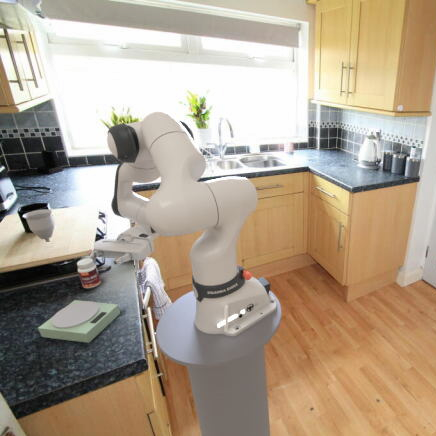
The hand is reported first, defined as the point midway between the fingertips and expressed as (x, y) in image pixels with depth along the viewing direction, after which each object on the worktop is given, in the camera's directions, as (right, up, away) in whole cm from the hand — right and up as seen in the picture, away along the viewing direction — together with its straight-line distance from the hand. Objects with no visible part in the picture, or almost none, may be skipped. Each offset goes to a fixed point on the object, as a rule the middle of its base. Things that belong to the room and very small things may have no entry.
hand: (102, 261), depth 103 cm
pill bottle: (-1, -7, -3) cm, 8 cm away
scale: (+8, -14, -19) cm, 25 cm away
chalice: (-23, -1, +9) cm, 25 cm away
